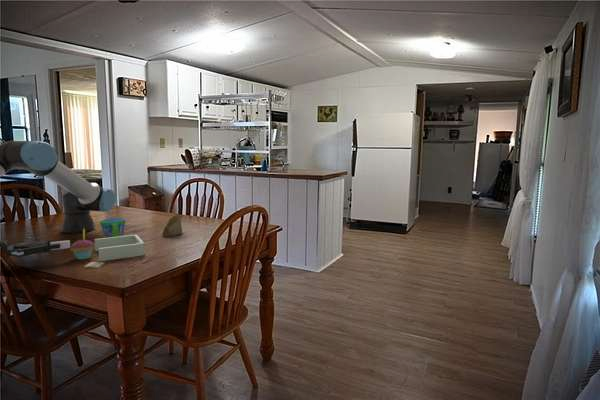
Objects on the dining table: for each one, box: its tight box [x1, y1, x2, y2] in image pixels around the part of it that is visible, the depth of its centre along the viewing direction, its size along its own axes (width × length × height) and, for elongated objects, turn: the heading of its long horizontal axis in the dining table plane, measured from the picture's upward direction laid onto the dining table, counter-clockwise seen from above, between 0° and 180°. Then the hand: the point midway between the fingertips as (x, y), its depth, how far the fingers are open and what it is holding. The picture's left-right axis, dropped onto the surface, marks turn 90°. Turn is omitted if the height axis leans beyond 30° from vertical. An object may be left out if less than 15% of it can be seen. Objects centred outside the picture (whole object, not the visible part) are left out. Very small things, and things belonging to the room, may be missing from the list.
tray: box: [93, 234, 146, 262], centre depth 165 cm, size 17×17×5 cm
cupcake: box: [70, 229, 95, 260], centre depth 157 cm, size 9×8×12 cm
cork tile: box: [83, 261, 105, 269], centre depth 148 cm, size 5×5×1 cm
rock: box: [161, 214, 183, 237], centre depth 197 cm, size 11×9×10 cm
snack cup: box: [99, 217, 127, 238], centre depth 182 cm, size 16×10×10 cm
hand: (70, 244), depth 154 cm, fingers closed
